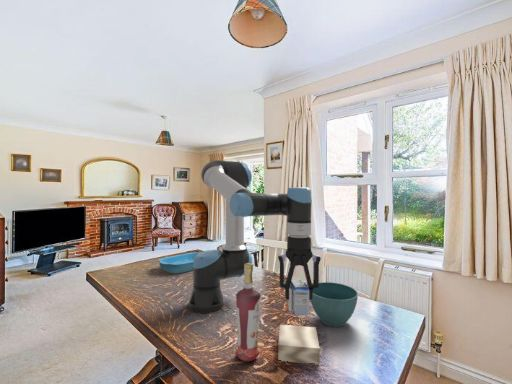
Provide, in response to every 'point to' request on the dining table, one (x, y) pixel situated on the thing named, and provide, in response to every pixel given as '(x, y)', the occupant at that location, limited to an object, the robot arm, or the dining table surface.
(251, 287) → the liquor
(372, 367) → the dining table surface
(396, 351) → the dining table surface
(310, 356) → the birch block
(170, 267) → the casserole dish
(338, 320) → the plant pot
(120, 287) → the dining table surface
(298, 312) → the medicine box
